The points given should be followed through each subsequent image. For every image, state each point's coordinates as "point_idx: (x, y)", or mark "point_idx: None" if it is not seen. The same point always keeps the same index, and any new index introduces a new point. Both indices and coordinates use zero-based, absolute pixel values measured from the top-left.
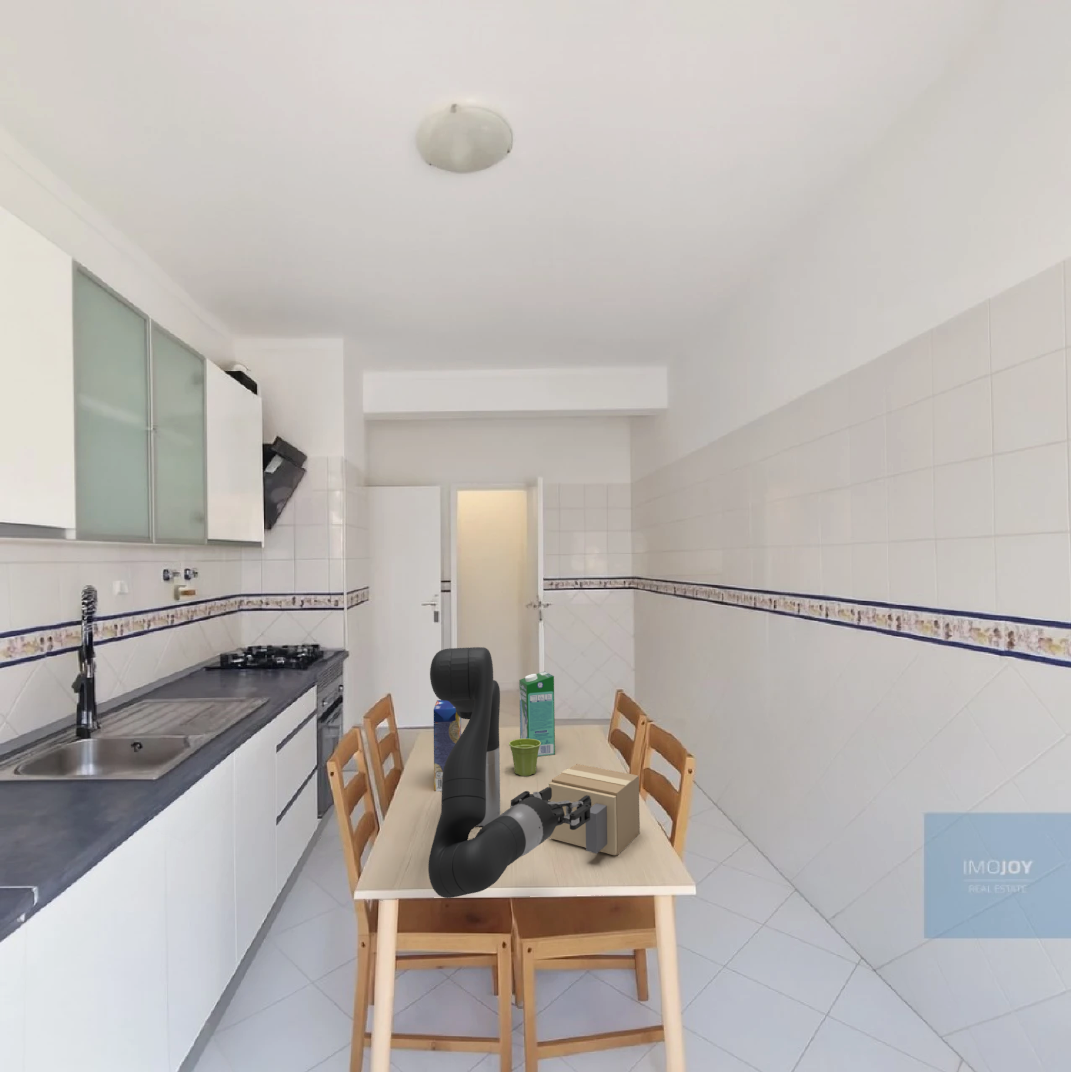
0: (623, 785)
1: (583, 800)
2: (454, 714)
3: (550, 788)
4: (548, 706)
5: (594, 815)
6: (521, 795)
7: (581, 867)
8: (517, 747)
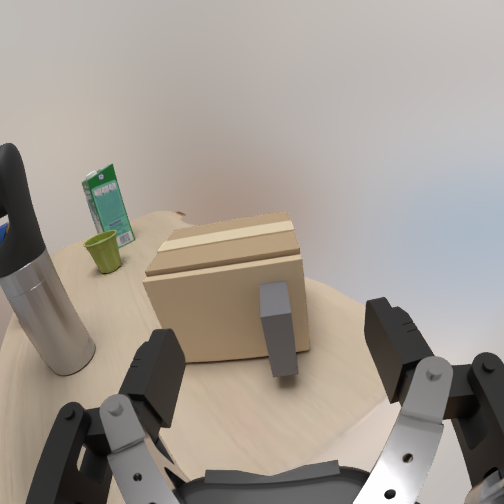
0: (289, 230)
1: (411, 340)
2: (5, 233)
3: (169, 333)
4: (115, 195)
5: (286, 316)
6: (52, 457)
7: (276, 406)
8: (92, 245)
